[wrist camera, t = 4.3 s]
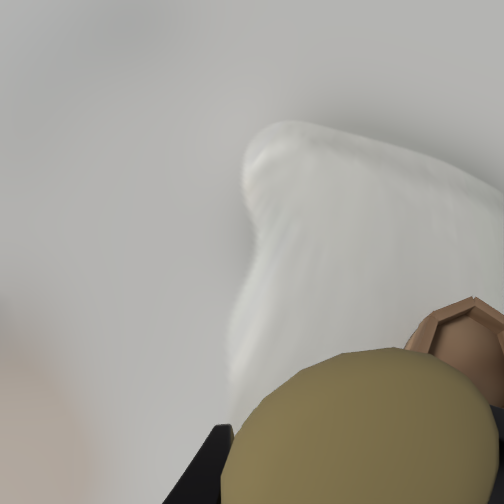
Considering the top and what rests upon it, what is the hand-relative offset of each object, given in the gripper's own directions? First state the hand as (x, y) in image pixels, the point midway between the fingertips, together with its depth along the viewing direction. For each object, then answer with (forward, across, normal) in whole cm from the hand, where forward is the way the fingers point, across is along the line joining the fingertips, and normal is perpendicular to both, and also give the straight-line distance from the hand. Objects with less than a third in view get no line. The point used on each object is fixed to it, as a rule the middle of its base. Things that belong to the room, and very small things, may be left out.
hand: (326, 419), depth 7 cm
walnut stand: (+4, -10, +5) cm, 12 cm away
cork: (+4, 0, +6) cm, 7 cm away
